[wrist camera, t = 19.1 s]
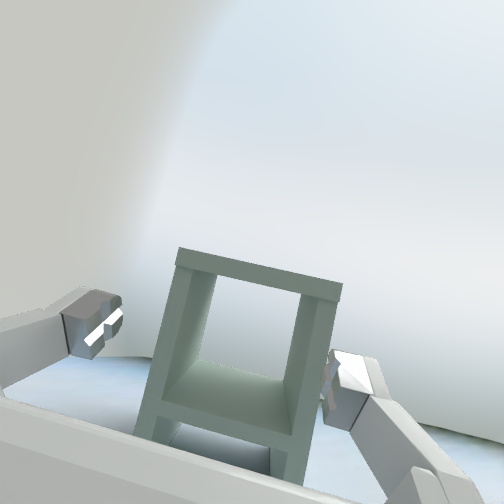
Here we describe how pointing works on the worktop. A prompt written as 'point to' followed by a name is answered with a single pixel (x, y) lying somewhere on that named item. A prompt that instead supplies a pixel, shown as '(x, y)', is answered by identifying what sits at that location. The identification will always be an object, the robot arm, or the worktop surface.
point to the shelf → (234, 380)
